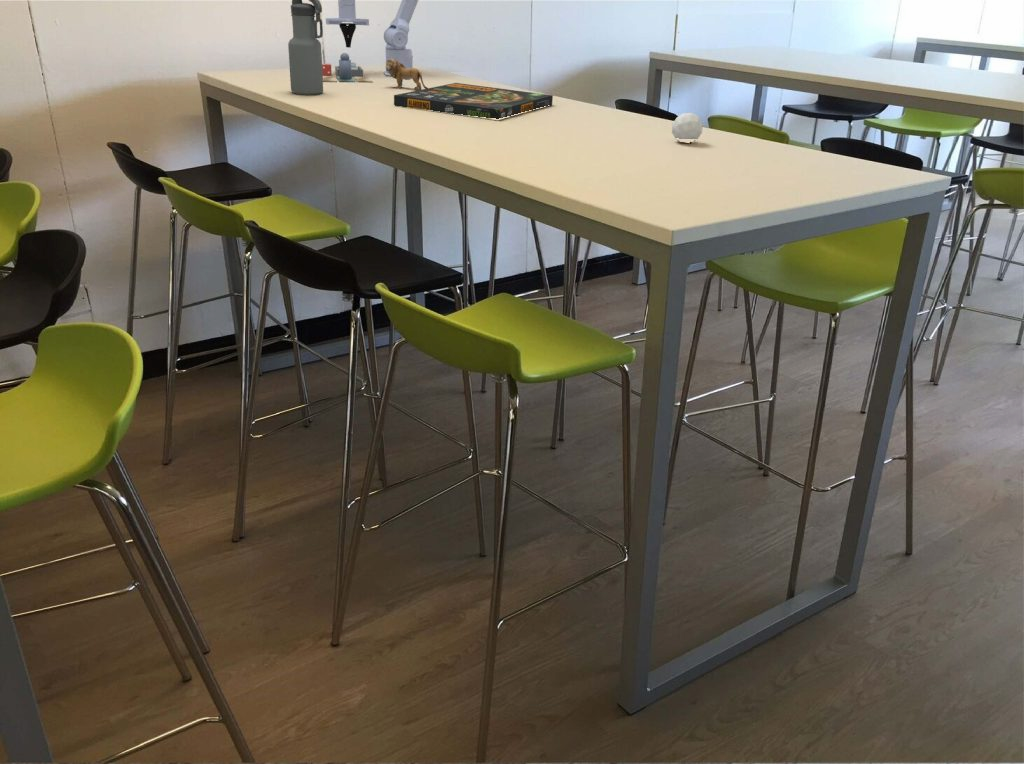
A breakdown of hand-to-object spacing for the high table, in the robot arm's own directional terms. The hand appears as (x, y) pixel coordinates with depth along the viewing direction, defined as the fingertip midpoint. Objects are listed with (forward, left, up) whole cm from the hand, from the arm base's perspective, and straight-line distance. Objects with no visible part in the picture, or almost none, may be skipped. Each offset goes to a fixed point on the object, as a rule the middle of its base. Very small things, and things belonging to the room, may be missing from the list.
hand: (348, 47), depth 308 cm
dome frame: (0, 0, -9) cm, 9 cm away
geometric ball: (-74, +118, -10) cm, 139 cm away
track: (+3, +12, -9) cm, 15 cm away
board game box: (-31, +62, -10) cm, 70 cm away
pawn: (+3, +12, -9) cm, 15 cm away
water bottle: (+17, +40, -10) cm, 44 cm away
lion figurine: (-15, +30, -10) cm, 35 cm away
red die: (+8, 0, -9) cm, 12 cm away
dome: (0, 0, -10) cm, 10 cm away
